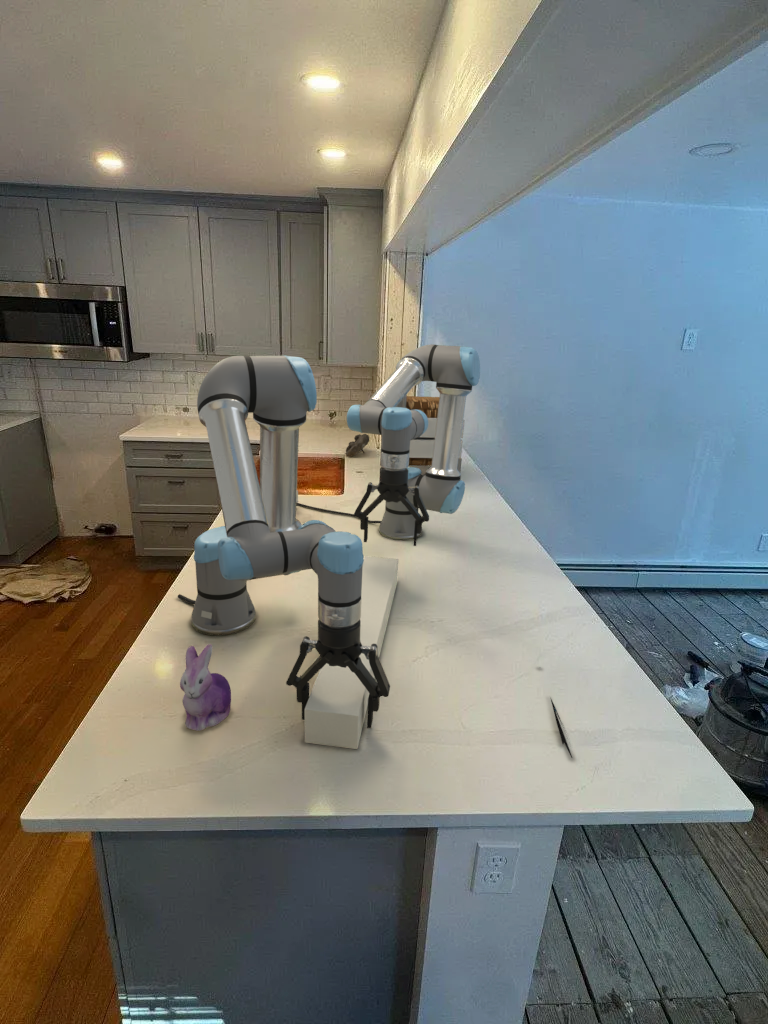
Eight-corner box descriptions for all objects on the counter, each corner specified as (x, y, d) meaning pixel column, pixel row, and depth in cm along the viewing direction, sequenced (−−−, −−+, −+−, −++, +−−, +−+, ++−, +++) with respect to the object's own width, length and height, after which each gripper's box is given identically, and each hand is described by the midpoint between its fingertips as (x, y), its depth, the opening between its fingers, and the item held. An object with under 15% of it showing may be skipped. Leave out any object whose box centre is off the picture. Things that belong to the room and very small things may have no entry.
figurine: (187, 740, 102) (180, 669, 97) (178, 706, 110) (171, 639, 105) (239, 725, 106) (236, 656, 101) (227, 693, 115) (223, 628, 109)
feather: (540, 672, 128) (545, 666, 127) (572, 762, 101) (579, 755, 101) (533, 668, 128) (539, 662, 127) (564, 758, 101) (571, 750, 100)
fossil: (345, 440, 316) (366, 424, 311) (356, 453, 319) (377, 438, 314) (339, 453, 297) (361, 437, 292) (350, 467, 300) (373, 452, 295)
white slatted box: (382, 463, 289) (386, 382, 275) (445, 464, 293) (451, 384, 279) (390, 482, 257) (394, 392, 243) (460, 483, 261) (468, 394, 247)
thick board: (364, 578, 166) (365, 555, 163) (397, 581, 165) (398, 558, 162) (304, 742, 103) (304, 709, 100) (357, 749, 102) (358, 715, 99)
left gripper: (266, 622, 98) (269, 725, 105) (405, 637, 95) (398, 741, 102) (279, 601, 105) (281, 699, 112) (409, 615, 102) (402, 713, 109)
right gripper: (345, 468, 146) (343, 544, 153) (442, 474, 145) (435, 551, 152) (349, 461, 153) (347, 533, 160) (441, 467, 152) (435, 540, 159)
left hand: (337, 719), depth 107 cm, fingers open, 12 cm apart
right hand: (390, 542), depth 156 cm, fingers open, 13 cm apart
